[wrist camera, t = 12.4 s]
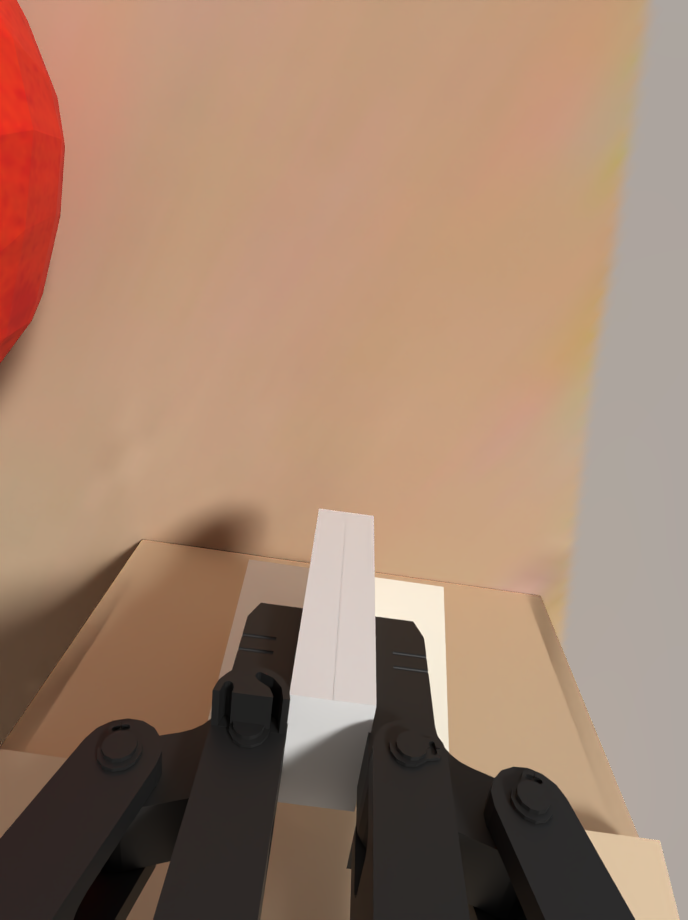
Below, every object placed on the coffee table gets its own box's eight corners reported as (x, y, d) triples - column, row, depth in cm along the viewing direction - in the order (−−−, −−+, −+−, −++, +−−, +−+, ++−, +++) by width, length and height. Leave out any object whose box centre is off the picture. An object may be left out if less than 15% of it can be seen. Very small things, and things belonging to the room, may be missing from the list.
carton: (144, 807, 30) (46, 1065, 21) (142, 539, 23) (-3, 750, 15) (456, 850, 30) (488, 1125, 21) (540, 596, 24) (640, 839, 15)
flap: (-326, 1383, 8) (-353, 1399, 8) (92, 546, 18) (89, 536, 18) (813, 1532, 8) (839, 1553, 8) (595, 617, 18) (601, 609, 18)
